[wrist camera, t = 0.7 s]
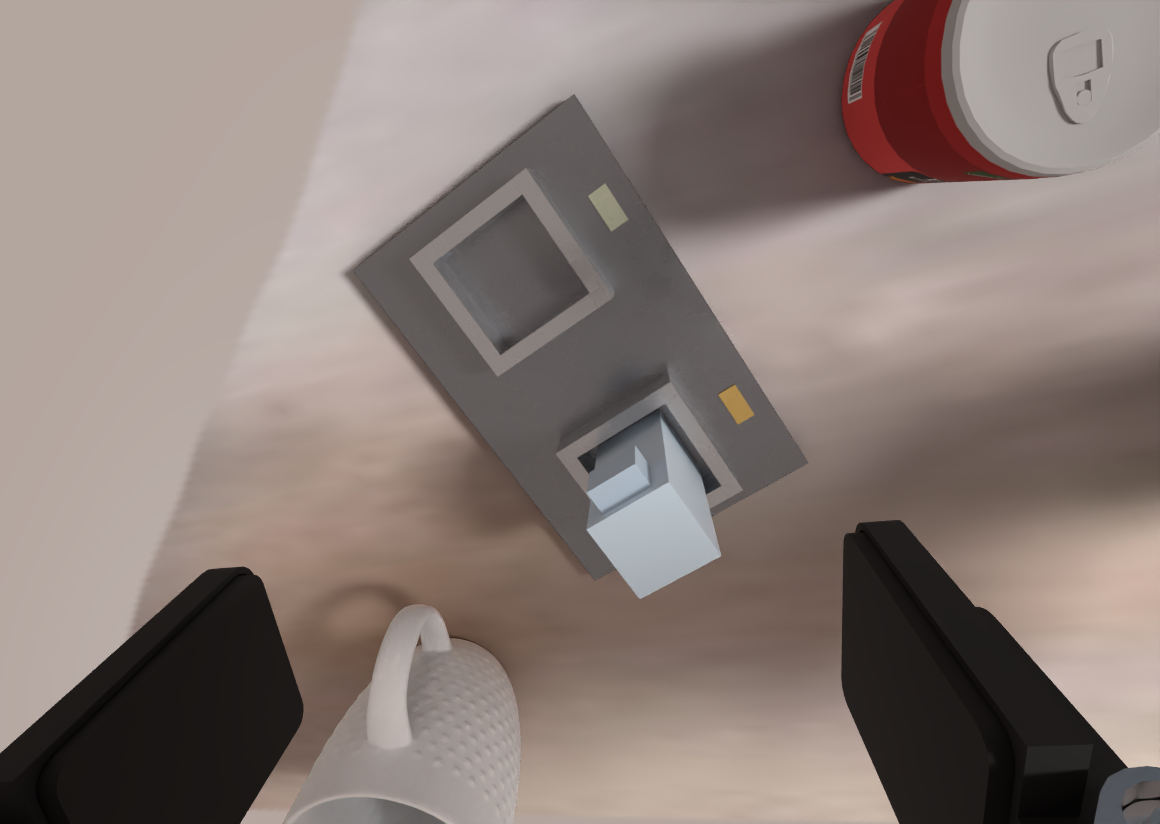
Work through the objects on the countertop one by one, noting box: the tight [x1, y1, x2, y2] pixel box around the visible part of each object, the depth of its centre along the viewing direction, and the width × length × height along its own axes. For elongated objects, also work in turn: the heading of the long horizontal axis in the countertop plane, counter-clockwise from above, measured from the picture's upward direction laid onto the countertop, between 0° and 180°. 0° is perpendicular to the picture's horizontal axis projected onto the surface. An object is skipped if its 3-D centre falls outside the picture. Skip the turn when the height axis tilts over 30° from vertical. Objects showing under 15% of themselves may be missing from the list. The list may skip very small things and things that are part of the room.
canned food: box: [841, 0, 1160, 183], centre depth 23 cm, size 8×8×11 cm
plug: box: [586, 409, 721, 599], centre depth 30 cm, size 5×4×9 cm
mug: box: [283, 604, 521, 824], centre depth 35 cm, size 15×11×13 cm
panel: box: [353, 95, 808, 580], centre depth 32 cm, size 22×14×3 cm, turn 35°
